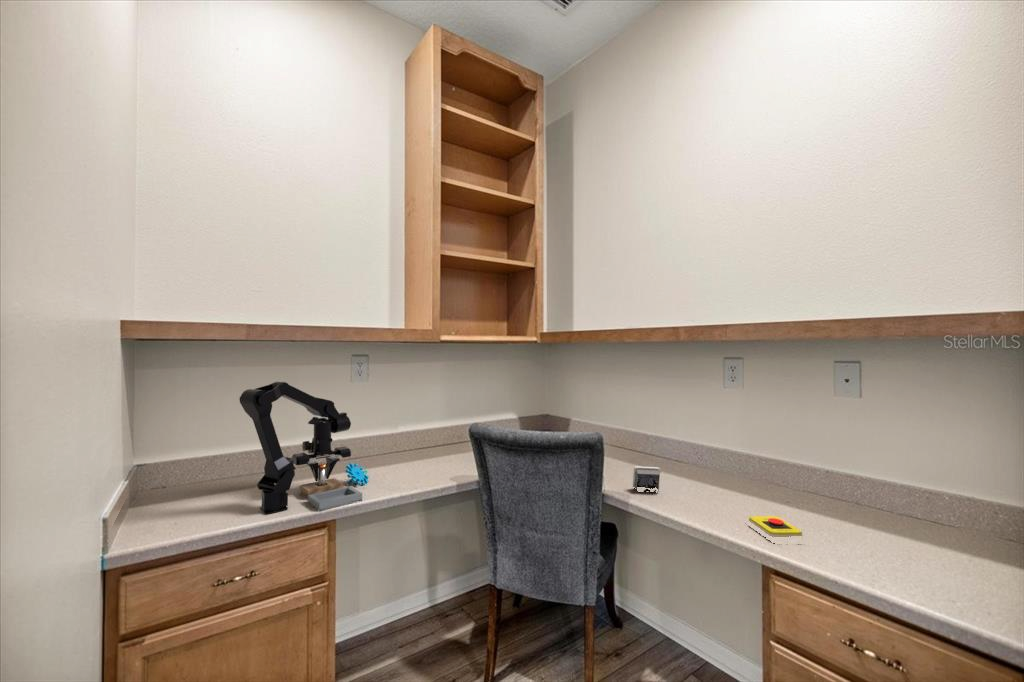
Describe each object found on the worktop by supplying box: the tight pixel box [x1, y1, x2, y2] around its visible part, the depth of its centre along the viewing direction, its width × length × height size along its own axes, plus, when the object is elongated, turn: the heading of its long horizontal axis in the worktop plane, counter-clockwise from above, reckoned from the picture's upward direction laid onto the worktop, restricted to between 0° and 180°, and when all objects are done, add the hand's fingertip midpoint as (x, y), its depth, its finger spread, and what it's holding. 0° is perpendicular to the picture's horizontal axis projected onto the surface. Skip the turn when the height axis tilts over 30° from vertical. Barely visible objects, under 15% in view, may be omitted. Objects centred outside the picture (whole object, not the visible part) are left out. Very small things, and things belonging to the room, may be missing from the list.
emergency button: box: [748, 515, 803, 537], centre depth 125 cm, size 9×4×15 cm
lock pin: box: [317, 462, 327, 487], centre depth 155 cm, size 3×3×10 cm
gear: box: [345, 462, 370, 486], centre depth 166 cm, size 11×6×10 cm
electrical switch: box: [632, 465, 661, 491], centre depth 159 cm, size 9×5×9 cm, turn 83°
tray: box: [307, 485, 363, 512], centre depth 146 cm, size 14×10×2 cm
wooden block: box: [299, 477, 344, 500], centre depth 155 cm, size 12×8×3 cm, turn 134°
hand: (321, 479), depth 155 cm, fingers open, 3 cm apart
